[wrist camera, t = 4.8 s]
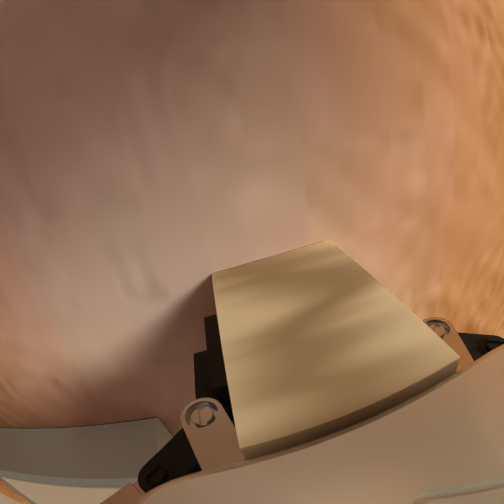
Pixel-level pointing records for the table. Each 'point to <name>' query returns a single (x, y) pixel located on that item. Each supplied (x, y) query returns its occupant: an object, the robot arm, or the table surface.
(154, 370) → the table surface
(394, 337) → the maple block
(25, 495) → the base
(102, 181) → the table surface
